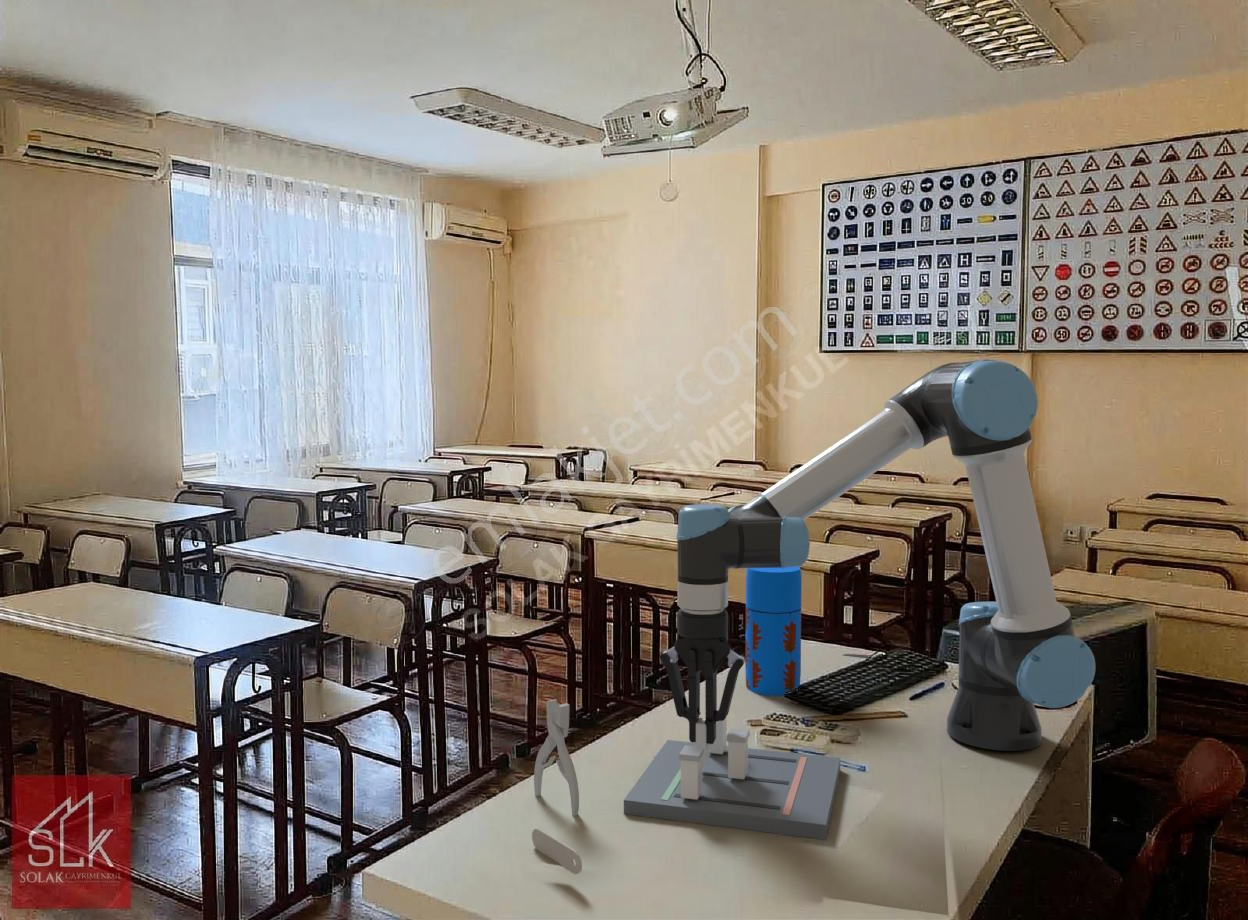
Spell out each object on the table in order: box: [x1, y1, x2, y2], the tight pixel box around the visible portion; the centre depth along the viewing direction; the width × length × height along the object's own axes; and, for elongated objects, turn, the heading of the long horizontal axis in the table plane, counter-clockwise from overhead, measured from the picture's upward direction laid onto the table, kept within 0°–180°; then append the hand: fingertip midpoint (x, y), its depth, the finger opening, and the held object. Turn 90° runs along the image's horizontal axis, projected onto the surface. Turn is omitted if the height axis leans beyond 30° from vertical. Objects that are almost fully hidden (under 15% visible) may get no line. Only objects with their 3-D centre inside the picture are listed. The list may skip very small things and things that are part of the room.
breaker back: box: [709, 706, 727, 754], centre depth 154 cm, size 3×4×6 cm
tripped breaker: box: [726, 727, 751, 779], centre depth 144 cm, size 3×4×6 cm
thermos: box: [744, 566, 802, 697], centre depth 192 cm, size 11×11×25 cm
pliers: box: [533, 699, 580, 817], centre depth 139 cm, size 10×2×15 cm, turn 41°
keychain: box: [531, 827, 583, 875], centre depth 123 cm, size 10×1×3 cm, turn 39°
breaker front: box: [679, 745, 704, 800], centre depth 137 cm, size 3×4×6 cm
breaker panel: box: [623, 739, 841, 840], centre depth 144 cm, size 28×25×2 cm
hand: (702, 763), depth 146 cm, fingers closed
